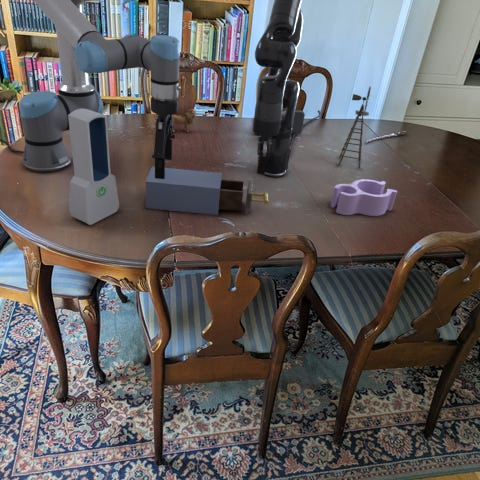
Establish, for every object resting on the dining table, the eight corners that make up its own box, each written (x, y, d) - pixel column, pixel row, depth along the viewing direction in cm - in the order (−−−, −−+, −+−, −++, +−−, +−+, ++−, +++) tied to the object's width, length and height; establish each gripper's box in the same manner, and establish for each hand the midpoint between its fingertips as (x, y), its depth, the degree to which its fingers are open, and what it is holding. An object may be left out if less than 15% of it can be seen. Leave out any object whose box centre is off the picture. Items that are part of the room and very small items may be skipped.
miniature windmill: (359, 169, 181) (379, 91, 164) (338, 165, 182) (355, 87, 165) (359, 160, 188) (378, 84, 172) (338, 156, 189) (355, 81, 173)
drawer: (266, 201, 149) (269, 181, 146) (267, 216, 142) (270, 195, 138) (185, 193, 149) (186, 173, 145) (182, 208, 141) (182, 187, 137)
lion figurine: (194, 127, 202) (194, 107, 197) (197, 132, 198) (198, 111, 193) (160, 128, 197) (160, 107, 192) (163, 133, 193) (163, 112, 188)
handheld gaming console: (299, 131, 211) (303, 109, 205) (302, 133, 208) (305, 111, 203) (251, 133, 203) (254, 110, 198) (254, 135, 201) (256, 112, 196)
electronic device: (87, 227, 129) (77, 121, 112) (68, 218, 132) (56, 113, 115) (120, 210, 138) (114, 110, 122) (101, 202, 141) (94, 103, 125)
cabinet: (220, 198, 150) (222, 173, 145) (217, 215, 141) (219, 188, 136) (152, 192, 149) (152, 166, 145) (145, 208, 140) (145, 181, 136)
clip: (342, 219, 146) (347, 199, 142) (324, 200, 156) (328, 181, 152) (396, 213, 152) (402, 195, 148) (375, 196, 162) (380, 178, 158)
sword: (403, 131, 224) (404, 129, 223) (408, 133, 222) (409, 131, 221) (360, 143, 208) (360, 140, 207) (365, 145, 206) (366, 142, 205)
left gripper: (171, 113, 117) (169, 188, 129) (184, 86, 138) (181, 153, 150) (141, 110, 117) (142, 185, 129) (158, 83, 138) (158, 150, 149)
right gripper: (282, 125, 124) (273, 184, 134) (280, 110, 135) (272, 165, 145) (254, 122, 124) (247, 181, 133) (254, 107, 135) (248, 163, 145)
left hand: (163, 168), depth 139 cm, fingers open, 13 cm apart
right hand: (260, 173), depth 139 cm, fingers closed
